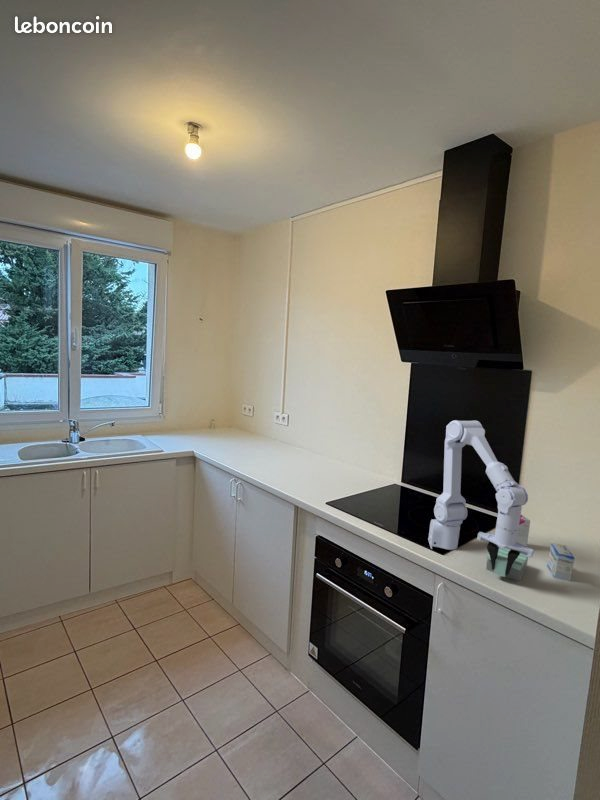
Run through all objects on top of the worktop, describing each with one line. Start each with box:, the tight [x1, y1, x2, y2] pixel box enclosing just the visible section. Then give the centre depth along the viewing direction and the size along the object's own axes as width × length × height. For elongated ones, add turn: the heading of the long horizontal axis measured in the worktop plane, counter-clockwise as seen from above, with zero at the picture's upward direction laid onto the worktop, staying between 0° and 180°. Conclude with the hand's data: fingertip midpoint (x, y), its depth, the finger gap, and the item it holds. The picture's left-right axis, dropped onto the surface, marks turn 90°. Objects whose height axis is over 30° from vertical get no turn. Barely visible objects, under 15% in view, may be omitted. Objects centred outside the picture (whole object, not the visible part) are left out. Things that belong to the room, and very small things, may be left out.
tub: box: [485, 557, 529, 582], centre depth 128 cm, size 9×11×4 cm
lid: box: [486, 547, 529, 578], centre depth 125 cm, size 9×14×4 cm, turn 141°
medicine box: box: [546, 542, 575, 582], centre depth 127 cm, size 8×4×9 cm, turn 163°
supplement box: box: [516, 514, 531, 547], centre depth 144 cm, size 6×6×12 cm
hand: (500, 570), depth 121 cm, fingers closed on lid, 3 cm apart
